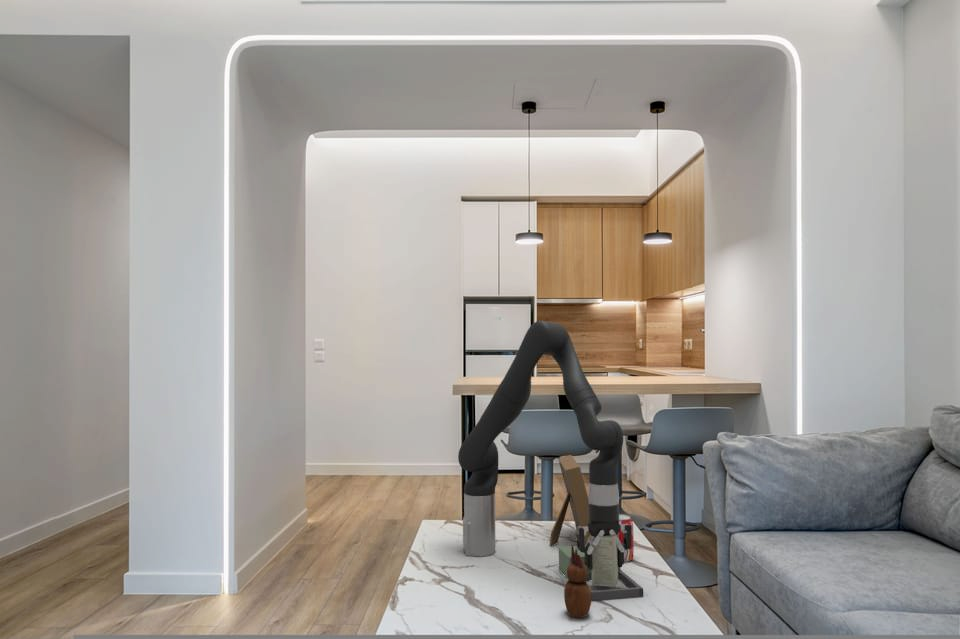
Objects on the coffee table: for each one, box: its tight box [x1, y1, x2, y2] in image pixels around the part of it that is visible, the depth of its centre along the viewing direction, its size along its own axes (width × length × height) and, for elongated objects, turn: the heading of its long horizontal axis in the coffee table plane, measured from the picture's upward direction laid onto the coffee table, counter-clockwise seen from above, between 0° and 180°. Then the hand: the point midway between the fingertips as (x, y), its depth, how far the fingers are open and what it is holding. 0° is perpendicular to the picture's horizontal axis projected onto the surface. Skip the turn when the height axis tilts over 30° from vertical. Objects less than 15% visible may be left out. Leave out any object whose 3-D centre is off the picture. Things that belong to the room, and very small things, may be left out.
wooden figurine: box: [563, 544, 592, 619], centre depth 151 cm, size 7×6×15 cm
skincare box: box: [590, 535, 619, 588], centre depth 167 cm, size 6×4×12 cm
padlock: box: [558, 545, 644, 602], centre depth 171 cm, size 14×23×6 cm, turn 11°
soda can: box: [617, 513, 635, 563], centre depth 190 cm, size 7×7×12 cm
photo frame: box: [549, 454, 591, 547], centre depth 208 cm, size 15×22×25 cm
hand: (604, 567), depth 167 cm, fingers closed on skincare box, 7 cm apart
